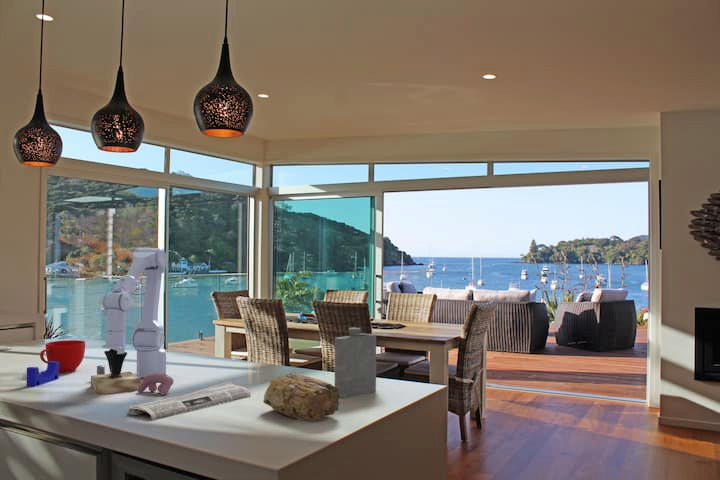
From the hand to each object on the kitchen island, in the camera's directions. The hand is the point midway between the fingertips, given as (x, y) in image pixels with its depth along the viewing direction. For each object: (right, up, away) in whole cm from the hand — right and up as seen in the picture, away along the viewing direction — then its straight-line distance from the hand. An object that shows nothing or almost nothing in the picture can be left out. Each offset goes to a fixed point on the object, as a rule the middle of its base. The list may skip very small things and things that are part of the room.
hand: (115, 373), depth 197 cm
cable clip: (-27, -5, +8) cm, 29 cm away
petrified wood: (+62, -5, -31) cm, 69 cm away
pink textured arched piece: (+15, -5, -6) cm, 16 cm away
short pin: (-10, -5, +13) cm, 17 cm away
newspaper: (+29, -5, -19) cm, 36 cm away
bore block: (0, -4, 0) cm, 4 cm away
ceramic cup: (-29, -5, +26) cm, 40 cm away
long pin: (0, -3, 0) cm, 3 cm away
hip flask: (+75, -5, -6) cm, 76 cm away
